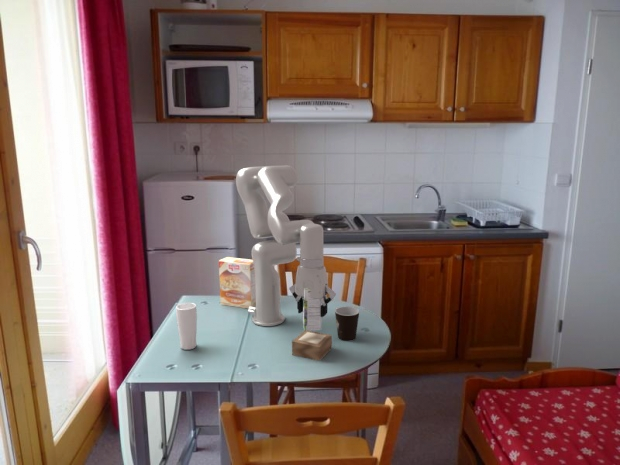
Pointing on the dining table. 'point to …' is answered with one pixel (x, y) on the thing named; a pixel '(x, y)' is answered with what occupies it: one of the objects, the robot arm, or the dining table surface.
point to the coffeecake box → (237, 282)
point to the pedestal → (312, 345)
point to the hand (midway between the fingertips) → (312, 313)
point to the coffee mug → (347, 322)
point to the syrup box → (311, 312)
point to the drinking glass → (187, 325)
